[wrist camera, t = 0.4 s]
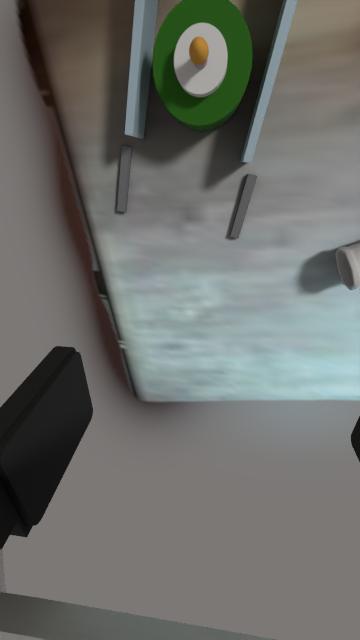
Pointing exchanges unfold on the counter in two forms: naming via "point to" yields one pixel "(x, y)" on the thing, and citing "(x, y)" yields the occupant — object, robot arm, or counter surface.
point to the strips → (124, 187)
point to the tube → (349, 265)
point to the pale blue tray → (143, 61)
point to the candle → (202, 62)
